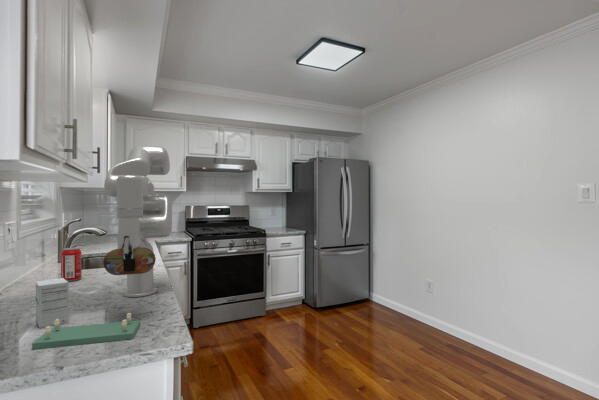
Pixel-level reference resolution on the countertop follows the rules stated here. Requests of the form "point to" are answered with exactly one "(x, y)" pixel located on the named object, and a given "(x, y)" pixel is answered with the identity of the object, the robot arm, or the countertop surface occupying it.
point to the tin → (141, 255)
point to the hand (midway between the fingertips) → (130, 269)
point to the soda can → (71, 264)
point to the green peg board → (86, 333)
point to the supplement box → (51, 302)
